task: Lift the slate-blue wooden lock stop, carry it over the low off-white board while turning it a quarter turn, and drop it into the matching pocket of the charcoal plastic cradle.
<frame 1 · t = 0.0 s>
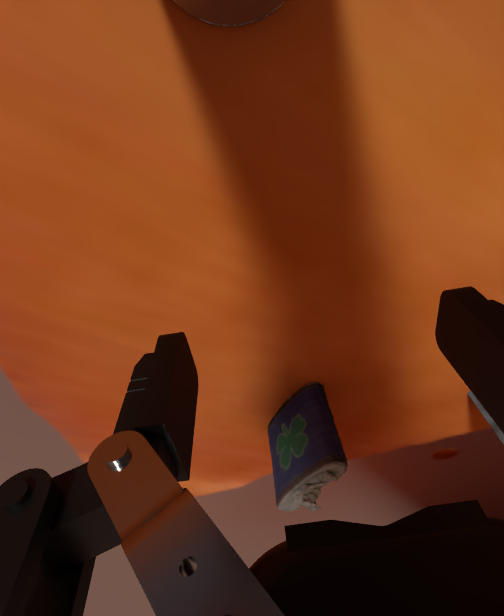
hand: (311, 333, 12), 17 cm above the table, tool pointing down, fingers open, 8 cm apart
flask: (293, 407, 40), on the table
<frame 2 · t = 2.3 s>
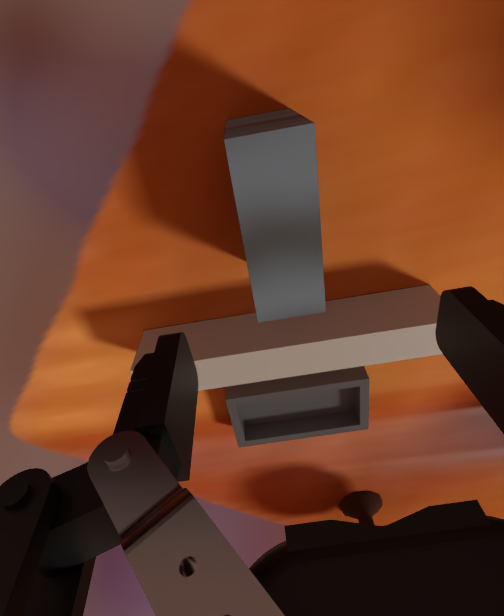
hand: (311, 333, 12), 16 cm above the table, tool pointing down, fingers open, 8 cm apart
cradle: (296, 395, 36), on the table
door board: (286, 322, 31), on the table
ice cream bowl: (360, 501, 47), on the table
lock stop: (268, 194, 25), on the table
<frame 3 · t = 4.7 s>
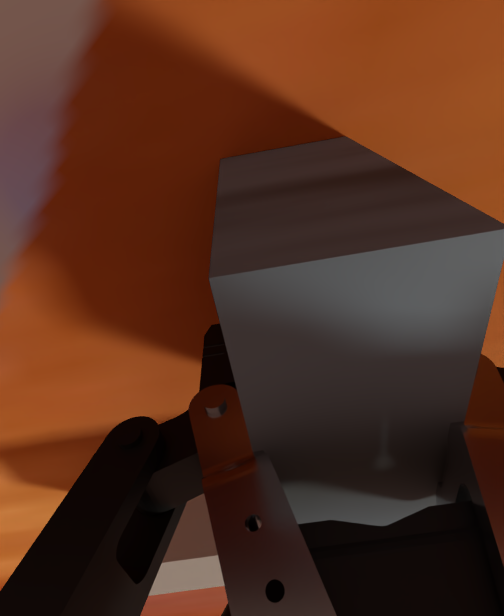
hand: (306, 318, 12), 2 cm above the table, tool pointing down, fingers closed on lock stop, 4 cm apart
door board: (314, 455, 20), on the table
lock stop: (296, 284, 14), on the table, touching gripper
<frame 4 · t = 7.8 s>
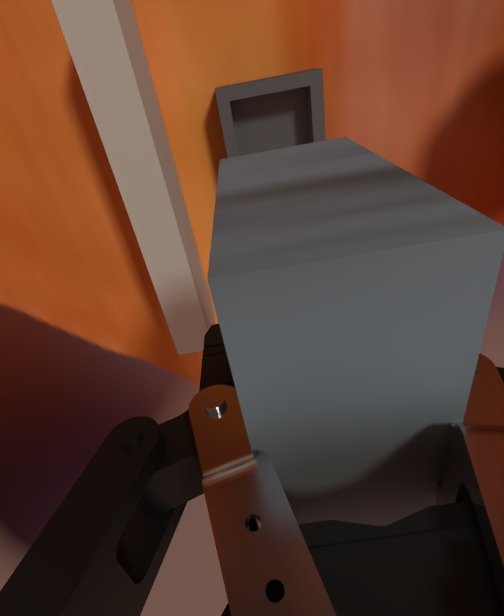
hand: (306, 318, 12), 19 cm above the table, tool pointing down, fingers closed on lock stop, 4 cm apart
cradle: (276, 174, 28), on the table
door board: (163, 195, 29), on the table
lock stop: (296, 284, 14), point 17 cm above the table, touching gripper
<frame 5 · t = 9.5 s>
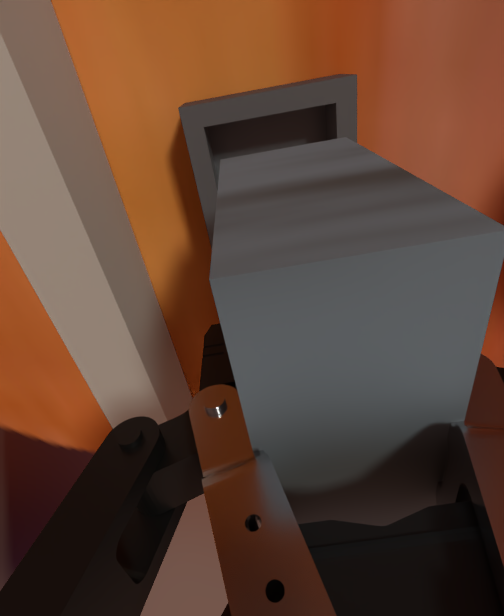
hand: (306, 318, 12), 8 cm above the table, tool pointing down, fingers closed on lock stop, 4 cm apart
cradle: (279, 228, 19), on the table
door board: (113, 257, 20), on the table
lock stop: (296, 284, 14), point 6 cm above the table, touching gripper
when the fingers open (4 cm above the table, at t = 11.1 s): lock stop drops 1 cm, resting on cradle.
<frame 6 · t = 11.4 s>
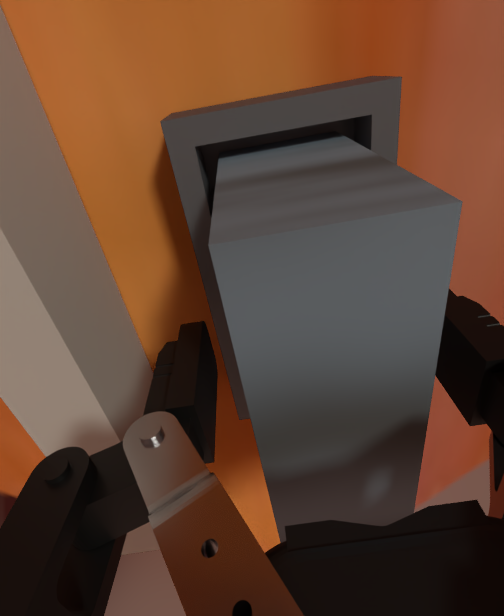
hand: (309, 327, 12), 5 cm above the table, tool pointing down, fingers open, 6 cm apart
cradle: (290, 265, 16), on the table
door board: (86, 299, 16), on the table
lock stop: (291, 270, 15), point 1 cm above the table, touching cradle
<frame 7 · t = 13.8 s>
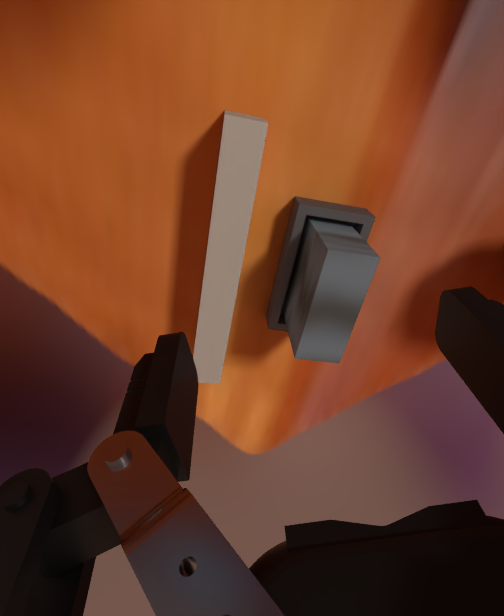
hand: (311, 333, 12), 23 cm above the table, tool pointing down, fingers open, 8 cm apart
cradle: (312, 266, 36), on the table
door board: (222, 253, 35), on the table
lock stop: (313, 268, 36), point 1 cm above the table, touching cradle
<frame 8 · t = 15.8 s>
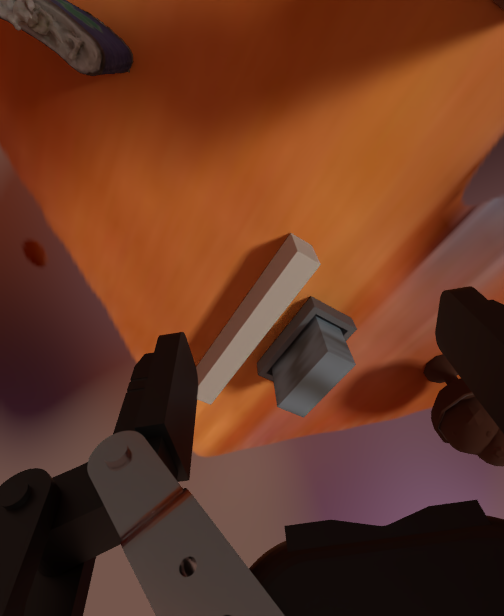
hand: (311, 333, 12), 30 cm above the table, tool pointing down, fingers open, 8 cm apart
cradle: (302, 341, 50), on the table
door board: (246, 314, 47), on the table
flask: (82, 31, 31), on the table
ice cream bowl: (441, 366, 55), on the table
lock stop: (303, 344, 50), point 1 cm above the table, touching cradle
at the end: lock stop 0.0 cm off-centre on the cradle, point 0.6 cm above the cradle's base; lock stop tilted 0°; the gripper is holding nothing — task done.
